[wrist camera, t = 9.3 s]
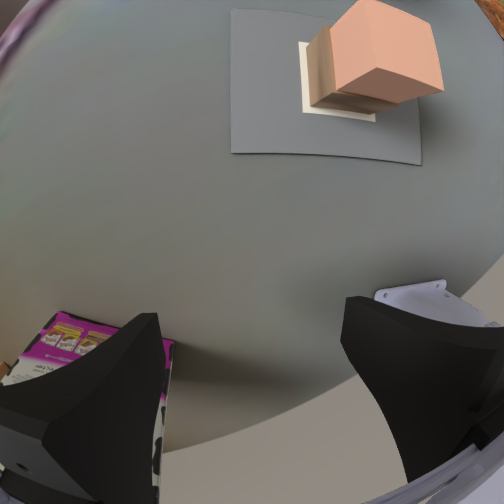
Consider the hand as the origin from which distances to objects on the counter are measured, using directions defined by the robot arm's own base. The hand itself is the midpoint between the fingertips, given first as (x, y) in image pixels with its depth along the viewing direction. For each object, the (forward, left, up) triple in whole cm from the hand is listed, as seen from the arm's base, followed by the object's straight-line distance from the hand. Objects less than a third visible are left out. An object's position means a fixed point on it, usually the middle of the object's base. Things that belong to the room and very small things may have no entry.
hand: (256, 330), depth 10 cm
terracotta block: (-8, -13, -6) cm, 16 cm away
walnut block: (-8, -13, -10) cm, 18 cm away
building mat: (-8, -13, -10) cm, 18 cm away
